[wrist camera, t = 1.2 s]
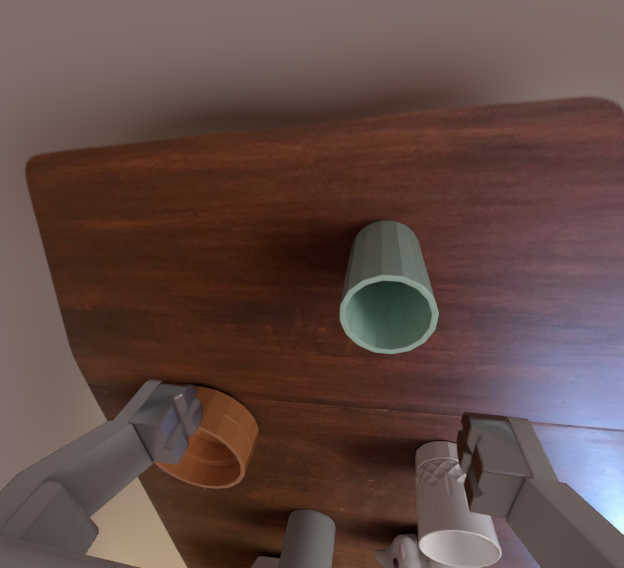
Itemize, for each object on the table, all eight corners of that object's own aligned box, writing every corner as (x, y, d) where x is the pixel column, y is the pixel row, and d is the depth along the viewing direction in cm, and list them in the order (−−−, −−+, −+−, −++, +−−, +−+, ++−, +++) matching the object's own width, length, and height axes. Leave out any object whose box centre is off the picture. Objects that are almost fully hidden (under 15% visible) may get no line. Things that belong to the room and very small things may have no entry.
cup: (280, 512, 56) (262, 585, 48) (316, 506, 53) (305, 583, 44) (307, 536, 59) (295, 609, 51) (344, 531, 56) (338, 609, 47)
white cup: (486, 448, 38) (517, 546, 30) (458, 480, 43) (479, 575, 34) (423, 430, 39) (436, 522, 30) (401, 463, 43) (407, 553, 34)
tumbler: (337, 249, 29) (320, 311, 20) (389, 205, 26) (394, 256, 18) (380, 292, 30) (381, 366, 22) (434, 255, 28) (458, 323, 19)
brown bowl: (151, 408, 47) (123, 445, 42) (199, 367, 41) (173, 405, 36) (224, 458, 51) (206, 498, 46) (279, 427, 44) (266, 470, 39)
